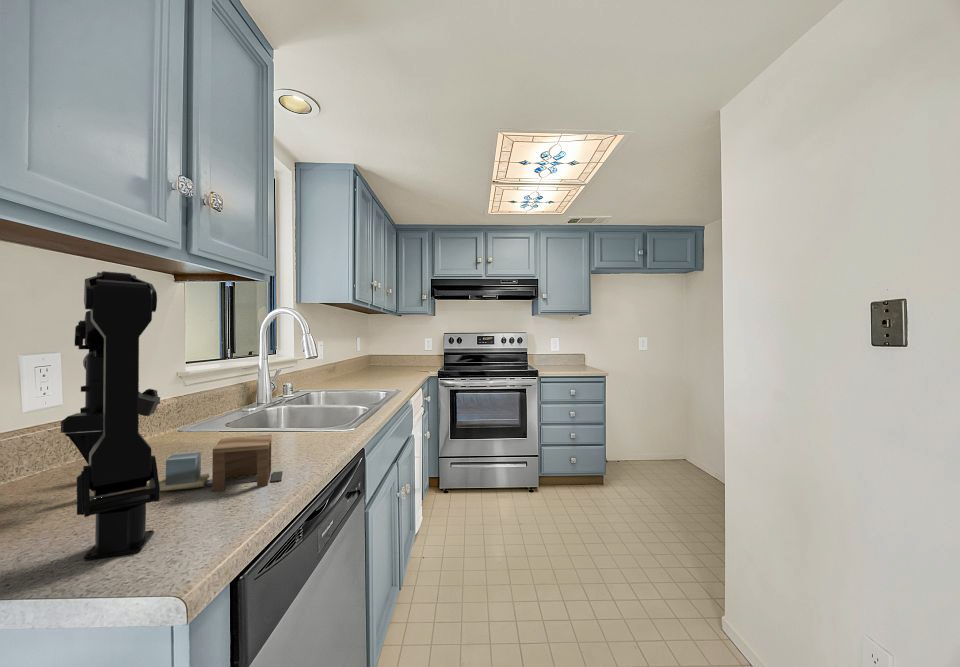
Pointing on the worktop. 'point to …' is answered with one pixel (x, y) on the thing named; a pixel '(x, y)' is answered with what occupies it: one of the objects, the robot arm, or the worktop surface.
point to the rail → (207, 483)
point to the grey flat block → (276, 476)
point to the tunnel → (241, 459)
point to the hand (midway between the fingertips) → (104, 459)
